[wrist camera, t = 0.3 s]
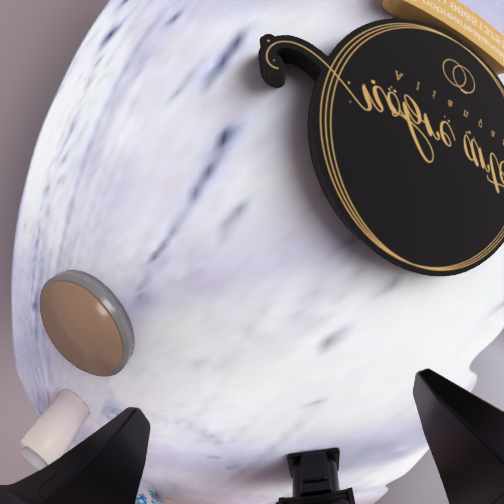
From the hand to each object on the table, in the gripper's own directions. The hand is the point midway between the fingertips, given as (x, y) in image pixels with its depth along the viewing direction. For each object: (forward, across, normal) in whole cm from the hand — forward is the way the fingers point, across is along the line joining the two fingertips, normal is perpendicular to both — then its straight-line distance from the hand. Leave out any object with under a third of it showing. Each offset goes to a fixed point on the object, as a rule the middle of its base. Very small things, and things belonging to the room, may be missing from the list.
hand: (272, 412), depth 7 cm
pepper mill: (+14, +31, +16) cm, 38 cm away
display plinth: (+14, +20, +3) cm, 25 cm away
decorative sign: (+15, -16, -9) cm, 24 cm away
